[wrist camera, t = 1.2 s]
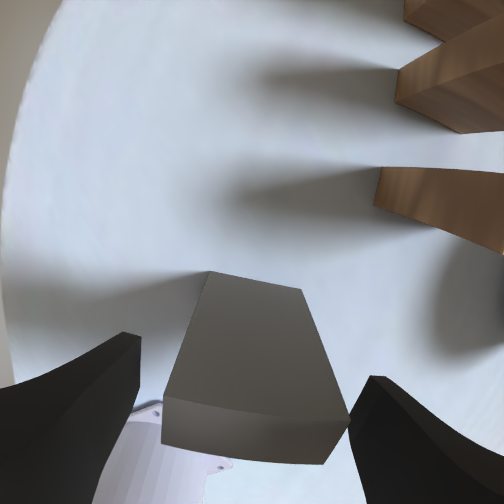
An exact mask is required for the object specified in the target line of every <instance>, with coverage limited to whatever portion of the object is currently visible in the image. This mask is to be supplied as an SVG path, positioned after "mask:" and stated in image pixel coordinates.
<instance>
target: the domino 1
mask: <svg viewBox="0 0 504 504" xmlns="http://www.w3.org/2000/svg"><path fill="white" fill-rule="evenodd" d="M350 422H351V419H350V416H349V413H348V411H347V408H346V405H345V402H344V400H343V397H342V394H341V391H340V389H339V386H338V383H337V381H336V378H335V375H334V373H333V370H332V367H331V365H330V362H329V359H328V357H327V354H326V351H325V349H324V346H323V344H322V341H321V338H320V336H319V333H318V331H317V328H316V326H315V323H314V320H313V318H312V315H311V313H310V310H309V308H308V305H307V303H306V300H305V298H304V295H303V293H302V290H301V289H297V288H291V287H286V286H281V285H276V284H271V283H266V282H261V281H256V280H252V279H247V278H242V277H237V276H232V275H227V274H223V273H218V272H213V271H210V273H209V275H208V278H207V280H206V283H205V285H204V288H203V290H202V293H201V295H200V298H199V301H198V303H197V306H196V308H195V311H194V314H193V316H192V319H191V321H190V324H189V327H188V329H187V332H186V335H185V337H184V340H183V343H182V345H181V348H180V351H179V353H178V356H177V359H176V361H175V364H174V367H173V370H172V372H171V375H170V378H169V381H168V383H167V386H166V389H165V392H164V395H163V407H162V425H161V444H163V445H167V446H171V447H175V448H180V449H184V450H189V451H194V452H199V453H204V454H210V455H215V456H222V457H228V458H235V459H243V460H251V461H261V462H272V463H286V464H312V465H323V464H324V463H325V461H326V460H327V458H328V457H329V455H330V454H331V452H332V451H333V449H334V448H335V446H336V445H337V443H338V442H339V440H340V438H341V437H342V435H343V434H344V432H345V430H346V429H347V427H348V425H349V424H350Z"/></svg>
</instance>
